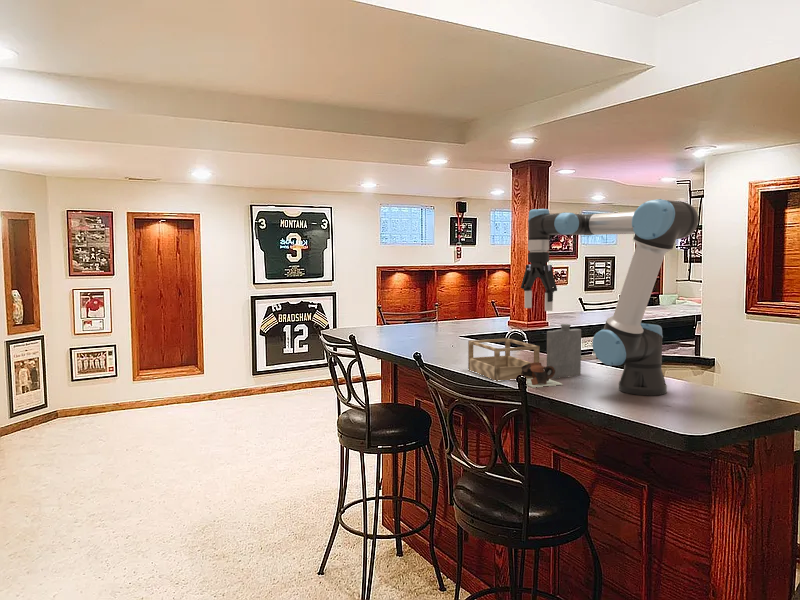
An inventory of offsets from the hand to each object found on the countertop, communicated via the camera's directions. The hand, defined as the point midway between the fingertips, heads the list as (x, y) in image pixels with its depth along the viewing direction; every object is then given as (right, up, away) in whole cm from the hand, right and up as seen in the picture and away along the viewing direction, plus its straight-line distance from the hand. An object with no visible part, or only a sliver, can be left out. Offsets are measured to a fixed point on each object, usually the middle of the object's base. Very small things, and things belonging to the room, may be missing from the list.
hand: (538, 309), depth 228 cm
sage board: (-1, -27, -6) cm, 27 cm away
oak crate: (-11, -25, +12) cm, 30 cm away
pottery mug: (-2, -26, -7) cm, 27 cm away
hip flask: (+12, -26, +7) cm, 29 cm away
